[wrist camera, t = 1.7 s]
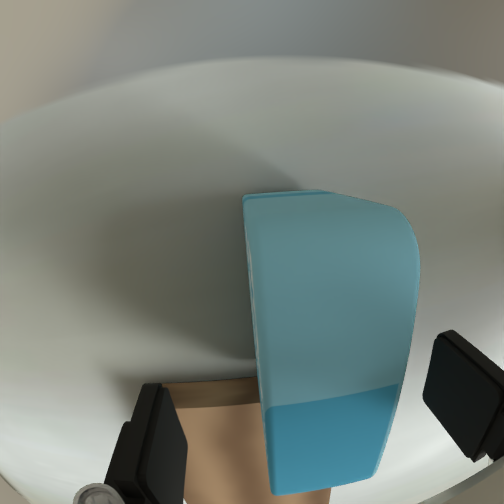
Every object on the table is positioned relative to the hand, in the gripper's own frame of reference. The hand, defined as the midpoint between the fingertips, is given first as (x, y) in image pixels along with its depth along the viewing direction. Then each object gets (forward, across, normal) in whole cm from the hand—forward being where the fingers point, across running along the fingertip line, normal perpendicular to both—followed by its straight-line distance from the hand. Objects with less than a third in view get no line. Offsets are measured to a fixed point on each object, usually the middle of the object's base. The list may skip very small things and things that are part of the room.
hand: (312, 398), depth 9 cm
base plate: (+11, +3, +16) cm, 20 cm away
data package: (+11, -1, 0) cm, 11 cm away
